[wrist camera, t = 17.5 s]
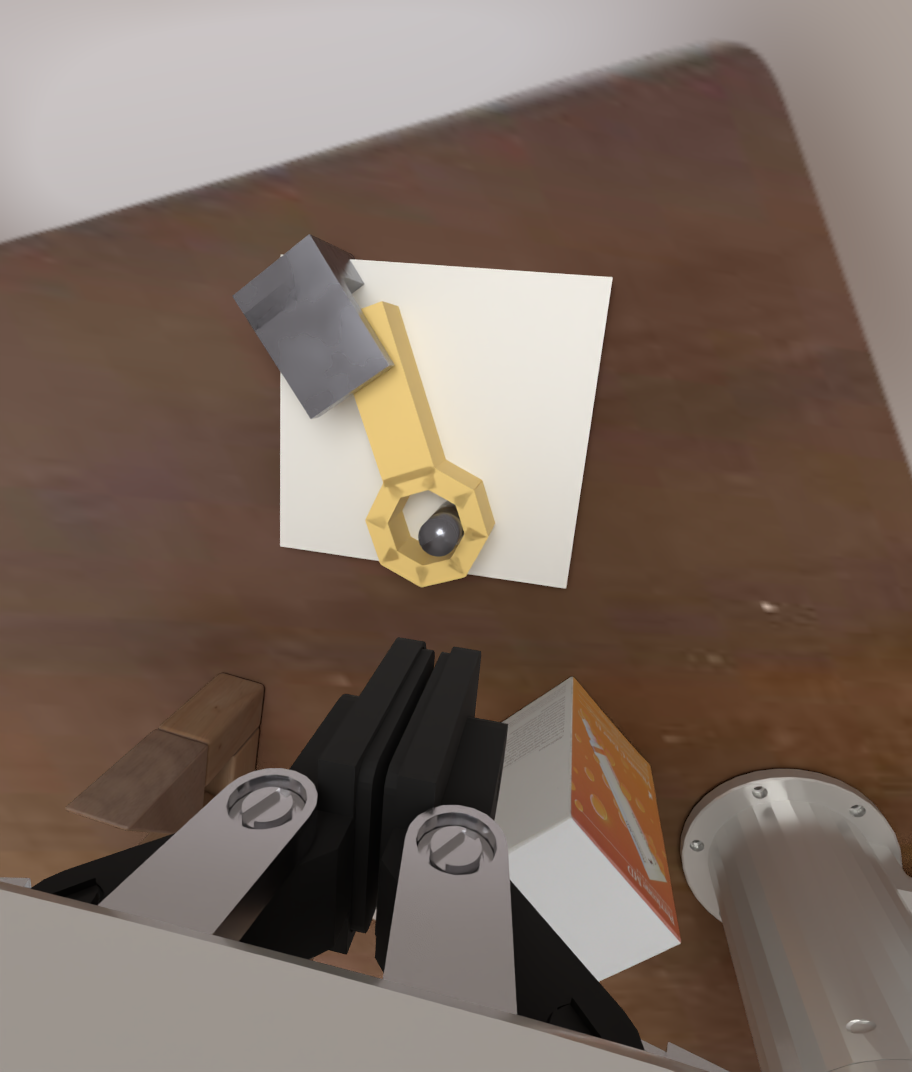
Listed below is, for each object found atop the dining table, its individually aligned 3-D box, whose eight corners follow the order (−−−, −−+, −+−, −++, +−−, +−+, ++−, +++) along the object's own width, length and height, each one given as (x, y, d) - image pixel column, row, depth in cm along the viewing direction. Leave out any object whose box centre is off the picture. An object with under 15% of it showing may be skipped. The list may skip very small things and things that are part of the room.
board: (611, 280, 32) (612, 277, 31) (566, 581, 37) (566, 588, 36) (290, 258, 35) (280, 254, 34) (288, 540, 40) (280, 546, 39)
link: (504, 552, 36) (497, 569, 33) (404, 576, 38) (390, 594, 35) (427, 295, 33) (413, 289, 30) (322, 333, 34) (299, 331, 32)
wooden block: (266, 683, 43) (65, 892, 26) (253, 804, 46) (66, 1060, 29) (219, 669, 44) (-9, 866, 27) (209, 790, 47) (0, 1034, 30)
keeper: (285, 305, 36) (232, 296, 30) (352, 254, 34) (309, 234, 29) (350, 410, 37) (310, 419, 31) (418, 364, 35) (389, 365, 30)
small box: (652, 763, 39) (686, 947, 27) (573, 808, 41) (572, 998, 29) (573, 671, 38) (571, 816, 26) (496, 721, 41) (461, 878, 28)
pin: (476, 497, 37) (457, 522, 31) (473, 529, 37) (454, 559, 31) (443, 492, 37) (419, 516, 31) (441, 524, 37) (416, 553, 32)
